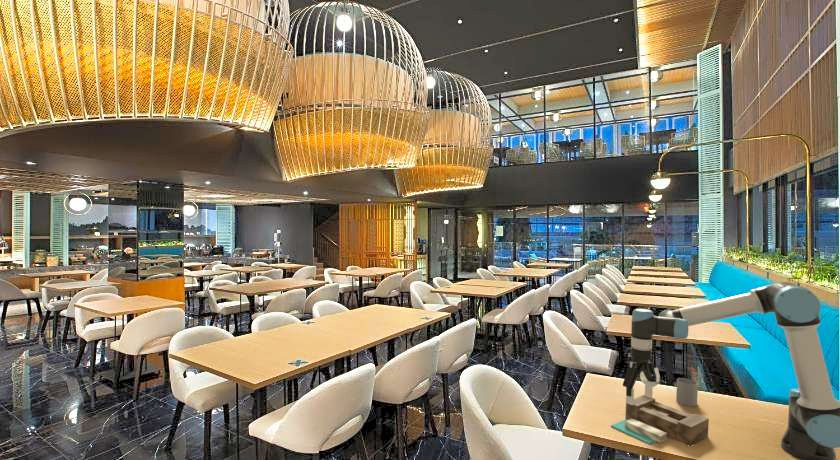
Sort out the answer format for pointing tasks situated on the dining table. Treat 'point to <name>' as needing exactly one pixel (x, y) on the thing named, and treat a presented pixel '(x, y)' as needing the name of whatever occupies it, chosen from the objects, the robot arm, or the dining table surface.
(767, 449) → the dining table surface
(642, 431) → the tile
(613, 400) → the dining table surface
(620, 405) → the dining table surface
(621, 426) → the mat
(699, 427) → the cradle
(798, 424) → the robot arm
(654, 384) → the wineglass
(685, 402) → the cup
